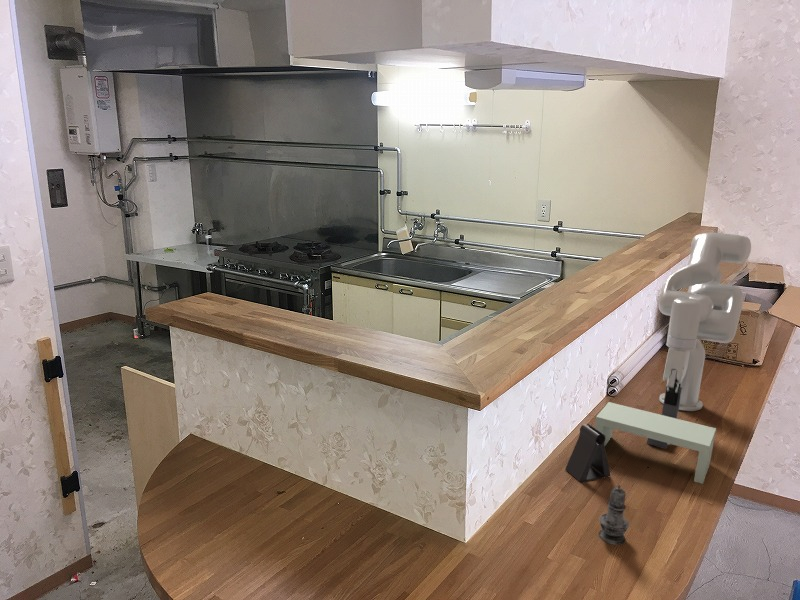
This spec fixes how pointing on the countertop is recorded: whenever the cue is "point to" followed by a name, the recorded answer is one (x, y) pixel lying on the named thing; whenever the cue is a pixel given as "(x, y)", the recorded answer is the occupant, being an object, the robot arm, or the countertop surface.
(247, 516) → the countertop surface
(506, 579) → the countertop surface
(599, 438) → the black wedge-shaped stand
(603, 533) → the grey tall tapered piece
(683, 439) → the low shelf
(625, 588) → the countertop surface
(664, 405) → the gray l-shaped block
